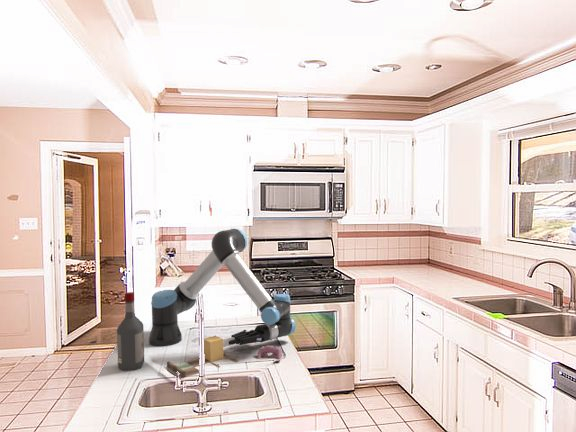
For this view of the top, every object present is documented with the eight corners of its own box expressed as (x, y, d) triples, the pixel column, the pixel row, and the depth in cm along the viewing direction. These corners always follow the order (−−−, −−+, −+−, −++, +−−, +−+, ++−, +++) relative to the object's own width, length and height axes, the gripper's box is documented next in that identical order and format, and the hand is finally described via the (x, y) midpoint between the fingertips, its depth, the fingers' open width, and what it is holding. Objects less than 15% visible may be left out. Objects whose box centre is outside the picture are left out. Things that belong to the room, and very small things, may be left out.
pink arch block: (281, 363, 185) (282, 346, 188) (280, 362, 181) (280, 344, 184) (258, 363, 186) (259, 345, 189) (256, 361, 182) (257, 344, 185)
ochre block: (203, 357, 184) (203, 338, 184) (216, 354, 188) (215, 335, 188) (210, 361, 180) (210, 342, 179) (223, 358, 183) (223, 339, 183)
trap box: (167, 370, 175) (166, 362, 174) (221, 355, 191) (221, 347, 190) (183, 381, 164) (183, 372, 164) (239, 364, 180) (239, 356, 180)
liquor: (145, 361, 185) (143, 290, 183) (140, 370, 176) (138, 295, 174) (122, 362, 184) (120, 291, 182) (116, 371, 175) (114, 296, 173)
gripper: (275, 343, 195) (229, 356, 180) (257, 337, 205) (213, 348, 190) (274, 327, 195) (229, 338, 180) (257, 321, 205) (212, 331, 190)
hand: (221, 343), depth 185 cm, fingers closed
